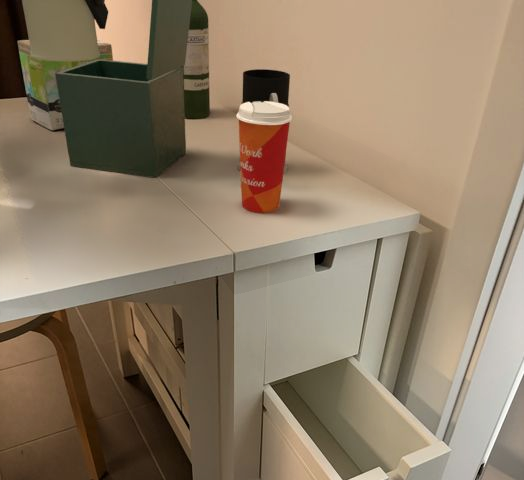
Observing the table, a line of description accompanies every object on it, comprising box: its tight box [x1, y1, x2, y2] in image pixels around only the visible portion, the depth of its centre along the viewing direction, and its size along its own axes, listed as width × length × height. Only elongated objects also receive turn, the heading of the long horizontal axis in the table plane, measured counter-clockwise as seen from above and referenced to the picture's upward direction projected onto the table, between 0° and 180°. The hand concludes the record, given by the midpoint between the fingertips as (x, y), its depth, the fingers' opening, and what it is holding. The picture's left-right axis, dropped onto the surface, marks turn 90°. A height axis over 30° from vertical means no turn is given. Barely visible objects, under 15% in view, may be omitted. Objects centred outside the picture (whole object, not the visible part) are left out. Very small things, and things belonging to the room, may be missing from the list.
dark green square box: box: [55, 59, 187, 179], centre depth 93 cm, size 16×14×14 cm
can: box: [22, 0, 100, 62], centre depth 73 cm, size 9×9×12 cm
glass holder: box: [237, 68, 291, 175], centre depth 90 cm, size 9×14×15 cm, turn 9°
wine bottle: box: [181, 0, 211, 120], centre depth 114 cm, size 8×8×30 cm
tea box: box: [17, 39, 114, 132], centre depth 111 cm, size 15×10×15 cm, turn 132°
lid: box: [146, 0, 192, 80], centre depth 82 cm, size 16×14×1 cm
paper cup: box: [235, 101, 293, 214], centre depth 79 cm, size 8×8×14 cm
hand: (71, 17), depth 77 cm, fingers closed on can, 9 cm apart
